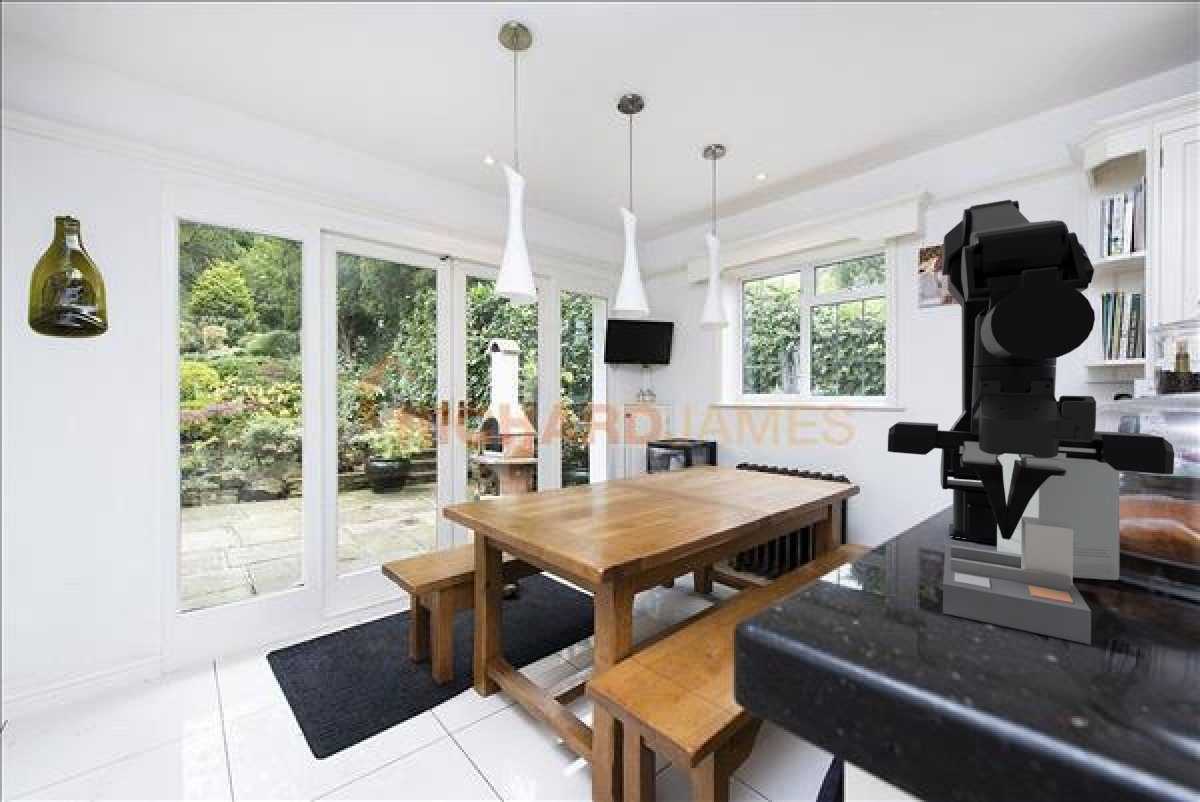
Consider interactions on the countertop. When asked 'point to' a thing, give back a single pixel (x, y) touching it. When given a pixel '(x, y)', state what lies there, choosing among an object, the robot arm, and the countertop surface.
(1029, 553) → the switch tab
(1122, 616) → the countertop surface
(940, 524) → the countertop surface
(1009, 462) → the supplement box
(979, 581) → the switch board
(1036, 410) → the robot arm
